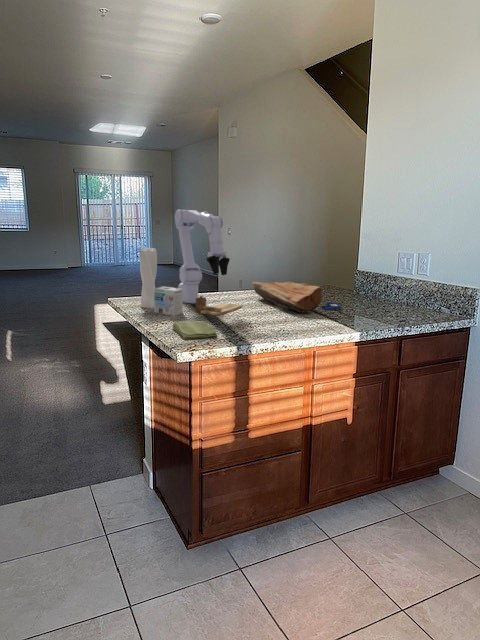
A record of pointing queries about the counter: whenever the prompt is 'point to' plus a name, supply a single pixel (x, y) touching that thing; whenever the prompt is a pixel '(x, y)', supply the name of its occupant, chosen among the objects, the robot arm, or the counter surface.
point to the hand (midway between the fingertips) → (220, 274)
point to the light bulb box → (168, 301)
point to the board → (225, 309)
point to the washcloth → (194, 330)
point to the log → (290, 295)
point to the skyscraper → (148, 276)
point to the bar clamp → (333, 307)
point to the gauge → (204, 305)
